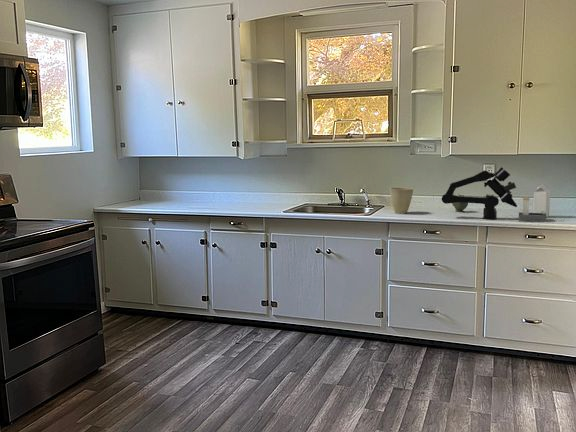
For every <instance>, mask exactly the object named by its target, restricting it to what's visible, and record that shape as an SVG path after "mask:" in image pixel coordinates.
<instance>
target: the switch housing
mask: <svg viewBox="0 0 576 432" xmlns="http://www.w3.org/2000/svg"><path fill="white" fill-rule="evenodd" d="M518 222H535V223H536V222H537V223H546V222H547V217H546V212H545V211H542V212H541V213H533V212H529V215H523V212H518Z"/></svg>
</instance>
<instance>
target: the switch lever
mask: <svg viewBox="0 0 576 432" xmlns="http://www.w3.org/2000/svg"><path fill="white" fill-rule="evenodd" d="M522 213H523V215H529V213H530V197H522Z"/></svg>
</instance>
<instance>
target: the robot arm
mask: <svg viewBox="0 0 576 432" xmlns="http://www.w3.org/2000/svg"><path fill="white" fill-rule="evenodd" d="M509 177H511V174H510V172H508V171H507V170H506V169H504V167H502V166H500V167H499V169H498V170H497V171H496V172H489V171H488V170H486V169H485V170H482V171H480V172H478V173H476V174H474V175H472V176H469V177H466V178H463V179H459V180H457V181H453V182H451V183H450V184H449V187H448V188H447V191H446V192H445V193H444V194H443V195H442V196H441V201H442V203H444V204H445V205H447V204H452V203H456V202H462V203H468V204H480V205H481V204H482V205H484V208H483V216H482V217H481V219H482V220H497V219H498V218H497V217H498V216H497V215H498V214H497V208H496V206H498V204H500V203H499V201H500V202H502V203H504V204H508V205H510V206H512V207H514V208H517V207H518V205H517V203H516V201H515V200H514V198H513V193H512V192H511V190H515V189H517V186H516V184H515V182H512V181H509V182H507V184H506V185H503V184H502V183H501V182H504V181H506V179H507V180H508V178H509ZM479 182H483V184H484V185H483V186H484V188H486V187H489V188H490V189H491V191H492V192H494V194H486V195H485V196H468V195H467V196H466V195H464V196H457V195H458V194H454V193H455V191H456V189H457V188H461V187H463V186H464V187H465V186H467V185H470V184H473V183H479ZM495 194H496V195H495Z"/></svg>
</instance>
